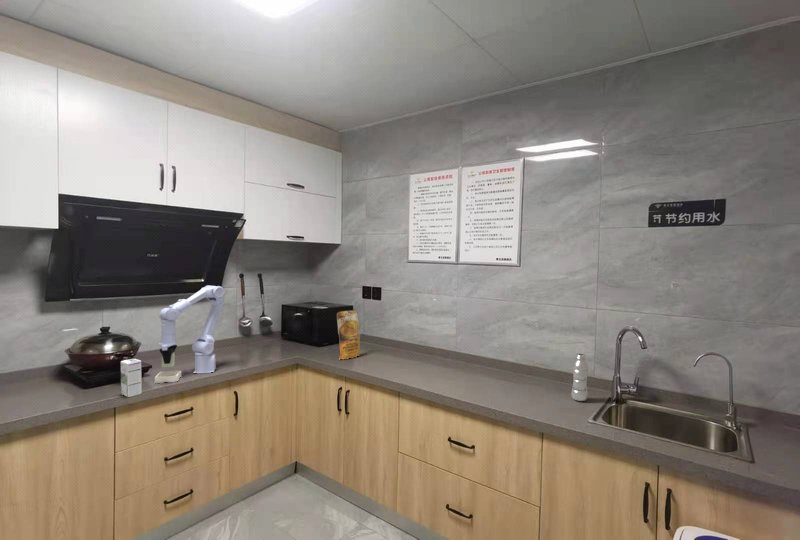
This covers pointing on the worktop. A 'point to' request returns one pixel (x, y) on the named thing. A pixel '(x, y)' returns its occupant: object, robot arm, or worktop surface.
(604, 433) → the worktop surface
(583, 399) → the plastic bottle
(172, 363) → the block
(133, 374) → the syrup box
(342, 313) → the pancake mix bag
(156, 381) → the bin
